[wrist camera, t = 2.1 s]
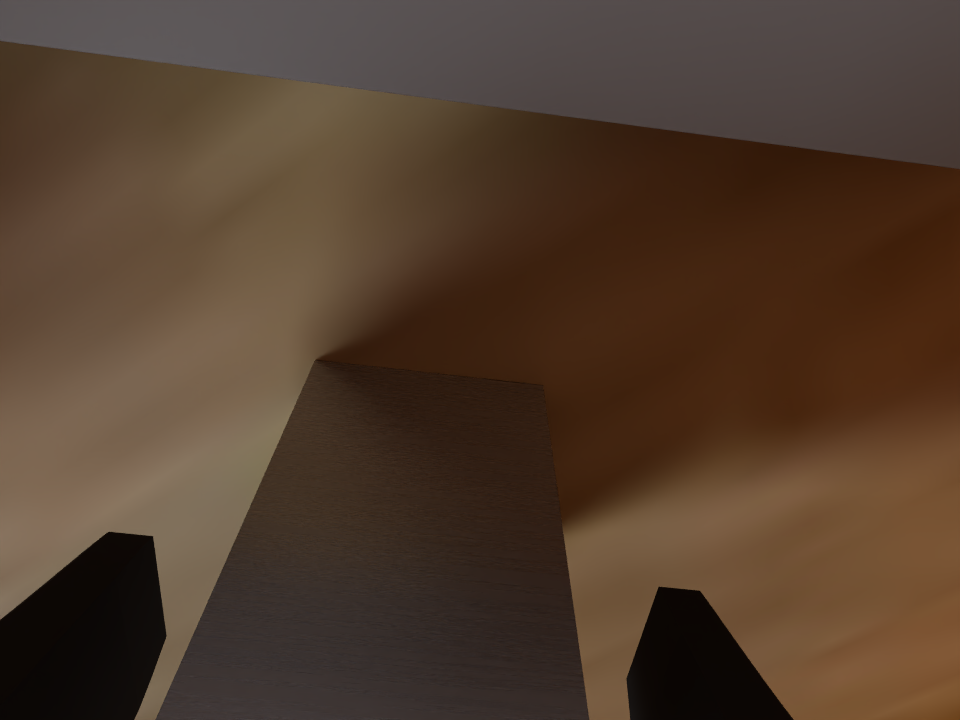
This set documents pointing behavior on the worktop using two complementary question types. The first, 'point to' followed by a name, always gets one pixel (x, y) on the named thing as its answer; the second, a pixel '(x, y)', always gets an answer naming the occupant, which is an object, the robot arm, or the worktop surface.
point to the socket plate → (577, 58)
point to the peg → (395, 563)
